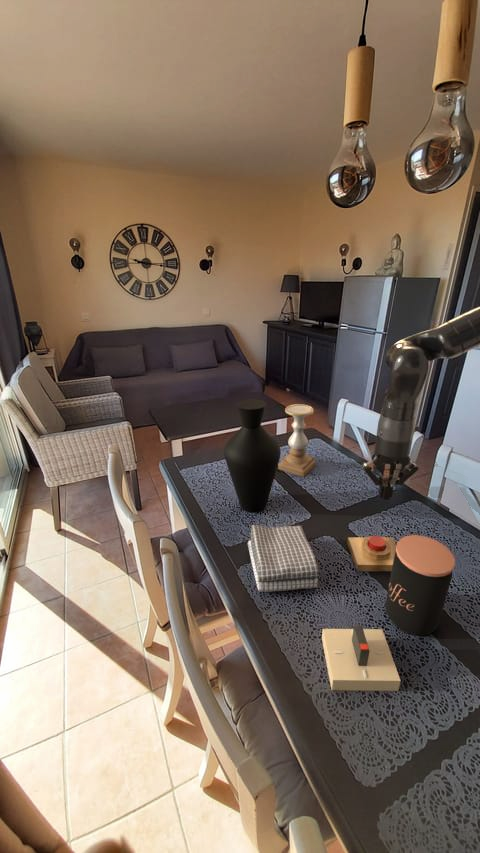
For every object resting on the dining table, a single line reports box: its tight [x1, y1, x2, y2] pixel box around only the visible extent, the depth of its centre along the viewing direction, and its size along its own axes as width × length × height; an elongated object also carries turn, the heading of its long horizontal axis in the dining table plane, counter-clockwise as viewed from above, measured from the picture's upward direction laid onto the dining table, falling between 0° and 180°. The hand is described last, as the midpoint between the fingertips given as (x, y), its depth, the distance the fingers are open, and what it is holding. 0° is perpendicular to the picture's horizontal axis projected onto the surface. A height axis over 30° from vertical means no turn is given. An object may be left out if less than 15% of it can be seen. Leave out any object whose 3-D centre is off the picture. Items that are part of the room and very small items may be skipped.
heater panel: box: [321, 628, 401, 692], centre depth 69 cm, size 12×10×3 cm
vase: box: [223, 398, 282, 514], centre depth 110 cm, size 17×17×35 cm
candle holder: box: [277, 403, 317, 478], centre depth 134 cm, size 11×11×24 cm
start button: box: [368, 535, 386, 551], centre depth 93 cm, size 4×4×2 cm
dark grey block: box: [352, 625, 369, 666], centre depth 68 cm, size 5×2×4 cm, turn 178°
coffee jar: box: [384, 534, 456, 637], centre depth 75 cm, size 11×11×18 cm
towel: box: [247, 524, 320, 593], centre depth 92 cm, size 15×18×8 cm
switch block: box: [347, 535, 397, 572], centre depth 94 cm, size 12×10×4 cm
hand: (384, 497), depth 88 cm, fingers closed
